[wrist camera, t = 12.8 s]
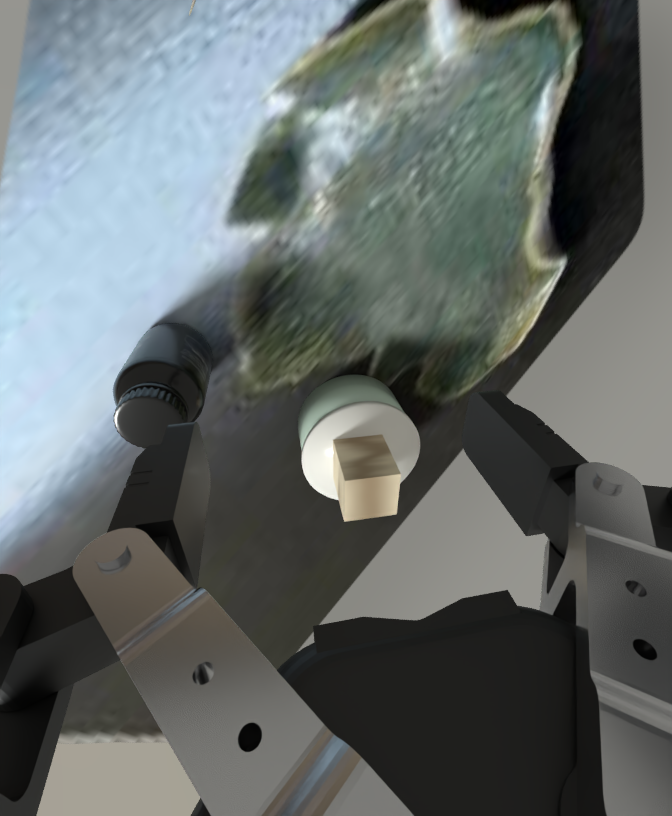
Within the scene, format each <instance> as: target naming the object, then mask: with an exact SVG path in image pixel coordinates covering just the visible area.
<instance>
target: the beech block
mask: <svg viewBox="0 0 672 816" xmlns="http://www.w3.org/2000/svg"><path fill="white" fill-rule="evenodd" d="M333 479H334V483H335V487H336V491H337V495H338V499H339V503H340V507H341V511H342V514H343V518H344V522H346V521H353V520H360V519H367V518H374V517H381V516H388V515H395V514H397V505H398V496H399V488H400V479H401V473H400V471H399V469H398V467H397V464H396V462H395V460H394V458H393V456H392V454H391V452H390V450H389V448H388V445H387V443H386V441H385V439H384V437H383V435H382V434H381V435H372V436H363V437H354V438H344V439H335V440H333Z"/></svg>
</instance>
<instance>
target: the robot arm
mask: <svg viewBox="0 0 672 816" xmlns="http://www.w3.org/2000/svg"><path fill="white" fill-rule="evenodd" d="M462 443H463V448H464V450H465V452H466V454H467V456H468V457H469V459H470V460H471V461H472V463H473V464H474V465H475V467H476V468H477V470H478V471H479V472H480V474H481V475H482V476H483V478H484V479H485V480H486V482H487V483H488V485H489V486H490V487H491V489H492V490H493V491H494V493H495V494H496V495H497V497H498V498H499V500H500V501H501V502H502V504H503V505H504V506H505V508H506V509H507V511H508V512H509V513H510V515H511V516H512V517H513V518H514V520H515V522H516V523H517V524H518V526H519V527H520V528H521V530H522V531H523V532H524V534H525V535H526V536H531V535H537V534H542V533H545V535H546V536H547V537H548V540H547V543H546V545H545V552H544V566H543V580H542V592H541V604H540V610H536V609H532V608H527V607H522V606H517V605H516V603H515V602H514V600H513V598H512V597H511V595H510V593H509V592H508V590H505V591H500V592H494V593H489V594H484V595H479V596H473V597H468V598H462V599H460V600H458V601H457V602H455V603H453V604H451V605H449V606H447V607H445V608H443V609H441V610H439V611H437V612H435V613H433V614H432V615H430V616H428V617H426V618H424V619H421V620H417V621H416V620H415V621H413V620H399V619H386V618H372V617H360V618H355V619H350V620H344V621H339V622H334V623H328V624H323V625H317V626H313V629H314V641H315V643H313V644H311V645H309V646H307V647H305V648H303V649H302V650H301V651H299V652H297V653H296V654H294V655H293V656H292V657H290V658H289V659H288V660H287V661H286V662H285V663H284V664H282V665H281V666H280V668H279V669H278V670H276V669H275V668H274V667H273V666H272V665H271V663H270V662H269V661H268V660H267V659H266V658H265V657H264V655H263V654H262V653H261V652H260V651H259V650H258V649H257V648H256V646H255V645H254V644H253V643H252V642H251V641H250V640H249V638H248V637H247V636H246V635H245V634H244V633H243V632H242V630H241V629H240V628H239V627H238V626H237V625H236V624H235V623H234V621H233V620H232V619H231V618H230V617H229V616H228V615H227V613H226V612H225V611H224V610H223V609H222V608H221V607H220V605H219V604H218V603H217V602H216V601H215V600H214V599H213V597H212V596H211V595H210V594H209V593H208V592H207V591H206V590H204V589H203V588H199V589H197V584H198V576H199V569H200V561H201V553H202V546H203V538H204V531H205V523H206V515H207V508H208V500H209V493H210V469H209V464H208V460H207V456H206V452H205V448H204V443H203V439H202V435H201V431H200V427H199V425H198V423H197V422H191V423H181V424H172V425H168V426H167V428H166V431H165V434H164V437H163V441H162V444H157V445H149V446H148V447H147V448H146V449H145V450H144V451H143V452H142V453H141V454H140V455H139V456H138V457H137V458H136V460H135V463H134V465H133V468H132V470H131V476H129V478H128V480H127V483H126V488H124V491H123V493H122V496H121V498H120V501H119V503H118V506H117V508H116V511H115V513H114V516H113V518H112V521H111V524H110V526H109V529H108V531H107V533H106V534H104V535H102V536H100V537H98V538H96V539H95V540H93V541H92V542H91V543H90V544H88V545H87V546H86V547H85V548H84V549H83V550H82V551H81V553H80V554H79V555H78V557H77V559H76V560H75V563H74V565H73V566H72V567H70V568H68V569H66V570H64V571H61V572H59V573H56V574H54V575H51V576H48V577H46V578H43V579H41V580H38V581H36V582H33V583H31V584H28V585H25V586H23V585H22V584H21V582H20V581H19V580H18V579H17V578H16V577H14V576H12V575H8V574H0V816H36V814H37V811H38V807H39V804H40V801H41V797H42V794H43V790H44V787H45V783H46V780H47V776H48V773H49V769H50V766H51V762H52V759H53V755H54V752H55V748H56V745H57V741H58V738H59V734H60V731H61V728H62V724H63V721H64V717H65V714H66V710H67V707H68V703H69V700H70V696H71V693H72V689H73V686H74V683H75V682H77V681H79V680H81V679H83V678H85V677H87V676H89V675H91V674H93V673H95V672H97V671H99V670H101V669H103V668H105V667H107V666H109V665H111V664H113V663H115V662H117V661H119V660H121V661H122V663H123V665H124V667H125V668H126V670H127V672H128V673H129V675H130V677H131V679H132V680H133V682H134V684H135V686H136V687H137V689H138V691H139V692H140V694H141V696H142V698H143V699H144V701H145V703H146V704H147V706H148V708H149V710H150V711H151V713H152V715H153V717H154V718H155V720H156V722H157V723H158V725H159V727H160V729H161V730H162V732H163V734H164V736H165V737H166V739H167V741H168V742H169V744H170V746H171V748H172V749H173V751H174V753H175V754H176V756H177V758H178V760H179V761H180V763H181V765H182V766H183V768H184V770H185V772H186V773H187V775H188V777H189V779H190V780H191V782H192V784H193V785H194V787H195V789H196V791H197V792H198V794H199V796H200V800H199V802H198V803H197V805H196V807H195V809H194V811H193V812H192V814H191V816H672V487H671V488H667V487H657V486H646V485H641V483H640V482H639V481H638V480H637V479H636V478H635V477H633V476H632V475H630V474H629V473H627V472H626V471H624V470H622V469H619V468H617V467H615V466H612V465H608V464H604V463H596V462H591V463H589V462H587V460H585V459H584V458H583V457H582V456H581V455H580V454H579V453H578V452H577V451H575V450H574V449H573V448H572V447H571V446H569V444H567V443H566V442H565V441H564V440H563V439H562V438H561V437H560V436H559V435H557V434H554V431H553V430H552V429H551V428H550V427H549V426H547V425H545V423H544V422H543V421H542V420H541V419H540V418H538V417H537V416H536V415H535V414H534V413H532V412H531V411H529V410H527V409H525V408H523V407H521V406H519V405H516V404H514V403H513V402H512V401H510V400H509V399H508V398H507V397H506V396H505V395H504V394H503V393H502V392H501V391H499V390H495V391H485V392H476V393H473V394H472V395H471V396H470V398H469V402H468V407H467V413H466V418H465V423H464V428H463V433H462Z"/></svg>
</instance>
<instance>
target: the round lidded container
mask: <svg viewBox="0 0 672 816" xmlns="http://www.w3.org/2000/svg"><path fill="white" fill-rule="evenodd" d="M298 431H299V437H300V443H301V449H302V454H301V459H302V467H303V471H304V474H305V477H306V479H307V480H308V482H309V483H310V485H311V486H312V487H313V488H314V489H315V490H317V491H318V492H319V493H321V494H323V495H325V496H327V497H329V498H333V499H336V500H339V499H338V495H337V491H336V487H335V483H334V479H333V440H335V439H344V438H354V437H363V436H372V435H381V434H382V435H383V437H384V439H385V441H386V443H387V445H388V448H389V450H390V452H391V454H392V456H393V458H394V460H395V462H396V464H397V467H398V469H399V471H400V473H401V479H400V483H401V482H402V481H403V480H404V479H405V478H406V477H407V476H408V475H409V473H410V472H411V471H412V469H413V467H414V466H415V464H416V461H417V459H418V456H419V452H420V438H419V434H418V431H417V429H416V427H415V426H414V424H413V422H412V421H411V419H410V418H409V417H408V416H407V415H406V414H405V413H404V411H403V410H402V408H401V406H400V405H399V403H398V401H397V400H396V398H395V396H394V395H393V393H392V391H391V390H390V389H389V388H388V387H387V386H386V385H385V384H384V383H382V382H380V381H379V380H377V379H375V378H372V377H369V376H365V375H344V376H339V377H336V378H333V379H331V380H328V381H326V382H324V383H323V384H321V385H320V386H318V387H317V388H316V389H314V390H313V391H312V392H311V393H310V394H309V395H308V397H307V398H306V400H305V401H304V403H303V405H302V406H301V409H300V412H299V416H298Z"/></svg>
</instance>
